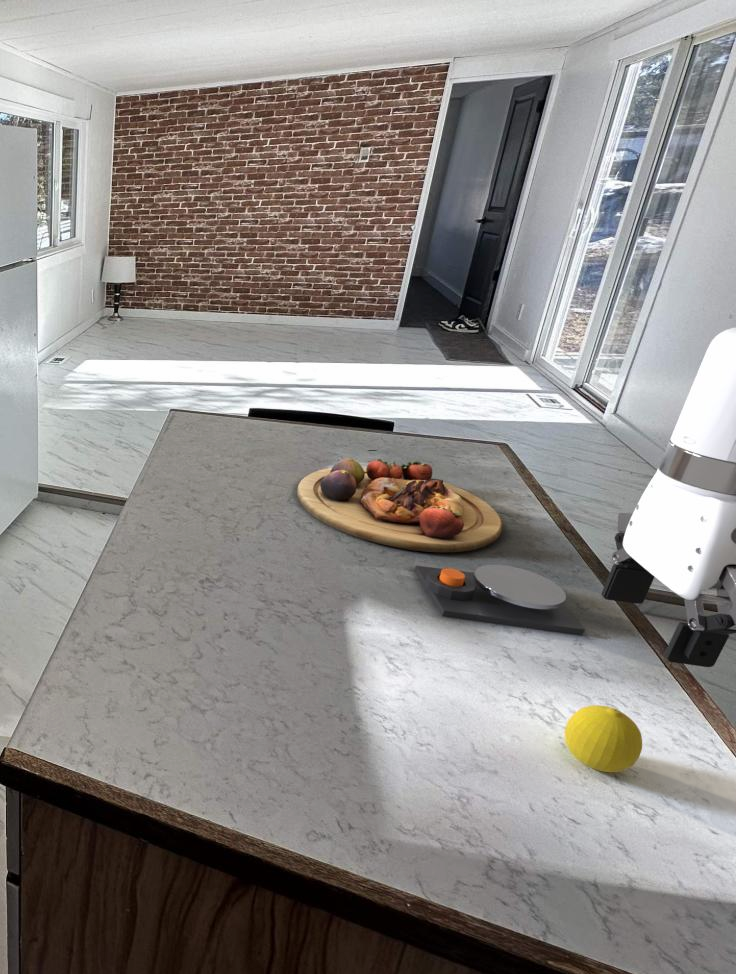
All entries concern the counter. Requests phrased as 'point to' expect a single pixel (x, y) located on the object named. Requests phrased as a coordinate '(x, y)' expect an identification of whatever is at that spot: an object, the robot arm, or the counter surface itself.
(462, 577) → the tare button
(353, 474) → the wooden plate
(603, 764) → the lemon
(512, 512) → the counter surface
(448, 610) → the scale
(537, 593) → the scale pan
